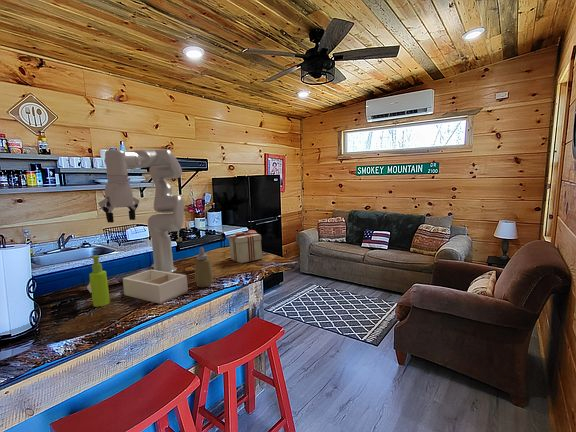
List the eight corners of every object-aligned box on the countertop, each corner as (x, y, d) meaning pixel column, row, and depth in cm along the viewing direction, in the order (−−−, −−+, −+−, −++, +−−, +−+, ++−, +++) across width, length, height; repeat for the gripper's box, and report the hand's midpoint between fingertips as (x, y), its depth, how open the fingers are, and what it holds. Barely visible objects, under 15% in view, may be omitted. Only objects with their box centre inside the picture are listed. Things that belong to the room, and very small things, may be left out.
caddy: (124, 295, 133) (122, 278, 132) (152, 284, 145) (151, 269, 144) (160, 303, 121) (158, 285, 120) (188, 291, 133) (186, 275, 132)
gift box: (248, 254, 198) (246, 227, 196) (264, 258, 183) (262, 230, 181) (224, 259, 187) (222, 231, 185) (239, 264, 173) (237, 235, 171)
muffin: (106, 292, 138) (104, 277, 137) (92, 296, 133) (90, 281, 132) (99, 290, 141) (97, 275, 140) (85, 294, 136) (83, 279, 135)
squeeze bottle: (195, 289, 136) (191, 250, 133) (195, 283, 143) (192, 246, 141) (214, 287, 138) (210, 248, 135) (213, 281, 145) (210, 244, 143)
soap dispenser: (105, 299, 129) (99, 253, 127) (112, 303, 125) (106, 255, 122) (90, 304, 124) (83, 256, 122) (96, 308, 120) (89, 258, 118)
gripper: (131, 180, 136) (134, 218, 137) (91, 180, 121) (95, 223, 122) (142, 179, 132) (145, 218, 134) (102, 179, 117) (107, 223, 119)
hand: (121, 221), depth 128 cm, fingers open, 9 cm apart
